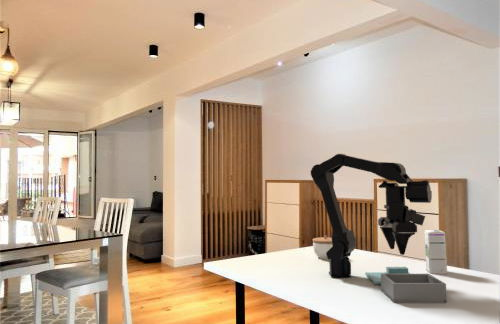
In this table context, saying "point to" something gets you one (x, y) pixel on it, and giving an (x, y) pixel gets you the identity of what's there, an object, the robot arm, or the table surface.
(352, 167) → the robot arm
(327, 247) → the lidded jar
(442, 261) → the syrup box
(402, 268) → the lid
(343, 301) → the table surface
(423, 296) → the tub
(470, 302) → the table surface
